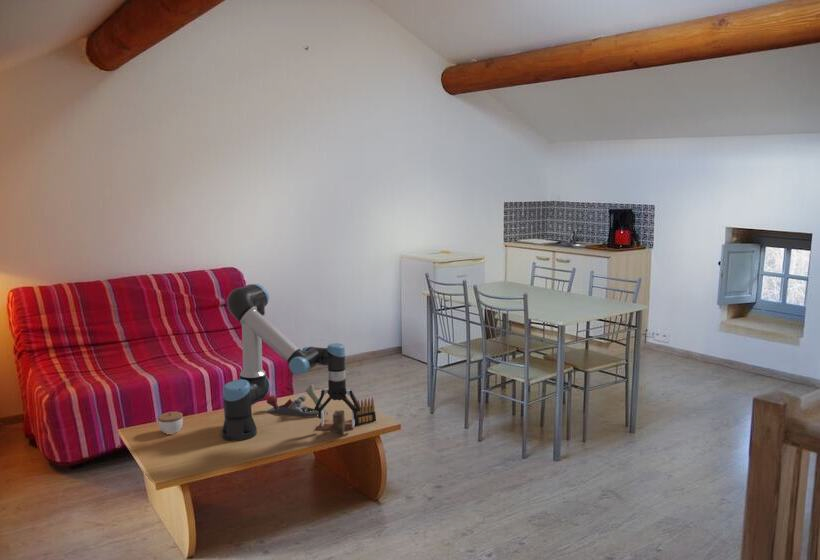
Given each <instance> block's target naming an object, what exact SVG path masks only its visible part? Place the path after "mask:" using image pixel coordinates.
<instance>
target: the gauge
mask: <svg viewBox="0 0 820 560" xmlns="http://www.w3.org/2000/svg"><path fill="white" fill-rule="evenodd" d="M332 420H333V429H332V431H333V436H343V435H344V433H345V431H346V429H345V420H346V419H345V410H343V409H340V410H334V413H333V414H332Z"/></svg>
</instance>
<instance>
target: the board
mask: <svg viewBox="0 0 820 560" xmlns="http://www.w3.org/2000/svg"><path fill="white" fill-rule="evenodd" d="M318 427H319V430H333V419H324V426H321V421H319V426H318ZM354 428H355V426H354V427H352V419H345V430H354Z"/></svg>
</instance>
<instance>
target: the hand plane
mask: <svg viewBox="0 0 820 560" xmlns="http://www.w3.org/2000/svg"><path fill="white" fill-rule="evenodd" d="M305 392H306V394H307V395H308V396H309V397H310V398H311V400H312V401H313V403H314V405H315V406H316V404H317V402H318V400H319V398H320V396H319V395H318V393H316V390H315V388H314V384H313V383H312V384H310V385H309V386H308V387H307V388H306V390H305ZM306 400H307V397H306V396H305V395H300V396H299V397H296V399H295V400H292V399H291V398H289V399H288V400H287V401H286V402H285V403H284V404H281V405H278V397H277V396H276V395H275V394H273V395H270V396H268V397H267V398H266V403H267V404H268V405H270V406H271V407H272V408H270V409H268V410H267V411H266V413H267V414H276V413H277V415H287V414H289V416H298V415H299V416H301V417H309V416H313V417H312V418H319V412H318V411H317V410H314V408H313V407H309V406H306V405H305V404H302V403H303V402H305V401H306ZM323 404H324V402H323V400H322V401H321V403H320V405H319V407H321V406H322V405H323ZM323 410H324V414H325V412H327V413H326V416H327V415H328V413H329V412H328V411H325V410H326V408H325V407H324V408H323ZM310 411H311V412H310ZM317 415H318V416H317ZM326 416H325V415H324V417H326Z"/></svg>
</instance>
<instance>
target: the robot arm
mask: <svg viewBox="0 0 820 560" xmlns="http://www.w3.org/2000/svg"><path fill="white" fill-rule="evenodd" d="M269 297H270V296H269V293H268V291H267V289H266V288H265V287H264V286H263V285H261V284H259V283H252V284H251V283H249V284H247V285H245V286H241V287H238V288H235V289H233V290H231V292H230V293H229V294H228V296H227V299H226V307H227V309H228V311H229V313H230V314H231V315H232V317H233V319H235V320H236V321H237V322H239V323H240V324H241V336H242V339H241V341H242V370H241V371H240V373H239V379H234V380H232V381H229V382H228V381H227V383H225V385H224V386H223V387H222V400H223V412H224V413H223V414H224V421H223V425H222V428H221V438H222V439H223V440H226V441H230V440H238V441H244V440H248V439H251V438H253V437H255V436H256V435H257V434H258V428H257V425H256V422H255V421H254V418H253V415H252V413H253V412H252V406H253V405H255V404H257V403H258V402H260V401H262V400H263V399H265V397H267V396H268V394H269V393H270V392H271V391H270V390H271V381H270V379H269V378H268V376H267V373H266V371H265V370H264V369H263V344H262V343H263V342H264V343H265V344H267V345H268V346H269V347H270V348H271V349H273V351H274V352H275V353H277V354H278V355H279V356H280V357H281V358H282V359H283V360H284V361H286V362H287V364H288V367H289V370H290V372H291V373H292V374H294V375H296V376H301V375H302V374H303V375H304V374H305V373H307V372H308V371H310V370H311V369H314V368H315V367H316V366H327V375H328V376H327V379H328V380H327V381H328V383H327V384H328V385H327V386H328V388H327V389H325V388H322V389H321V390H320V396H319V400H318V402H317V404H316V405H315V407H314V408H313V409H314V410H317V411H318V412H319V417H318V419H320V422H321V426H324V420H325V416H324V410H323V408H325V407H327V405H328V404H329V402H331V400H332V401H343V402H344V403H345V404H346V405H347V406H348V407H349V409H350V410H351V411H352V412H351V420H352V427H354V428H355V419H356V418H357V411H360V409H361V404H360V405H359V403H358V400H357V398H356V396H355V394H354V389H353V388H351V389H348V390H347V388H346V387H347V384H346V350H345V344H342V343H337V342H336V343H329V344H328V345H327V346H326V347H317V346H304V347H303V348H302V349H300V348H299V347H298V346H297V345H295V343H293V341H291V340H290V339H289V338H288V337H287V336H286V335H284V333H282V331H280V330H279V329H278V328H277V327H276V326H275V325H274V324H272V322H270V321H269V320H268V318H267V317H264V316H265V313H266V312H265V311H266V309H265V308H266V306H267V305H268V304H269V299H270V298H269ZM262 340H263V341H262ZM327 394H328V398H326V400H325V401H324V402H323V398H324V397H325V396H326V395H327ZM347 394H348V396H350V399H351V401H352V402H351V401H350V399H348V397H347V396H346V395H347ZM321 401H322V402H323V405H322V406H321V407H319V405H320V403H321ZM354 405H355V406H354Z"/></svg>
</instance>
